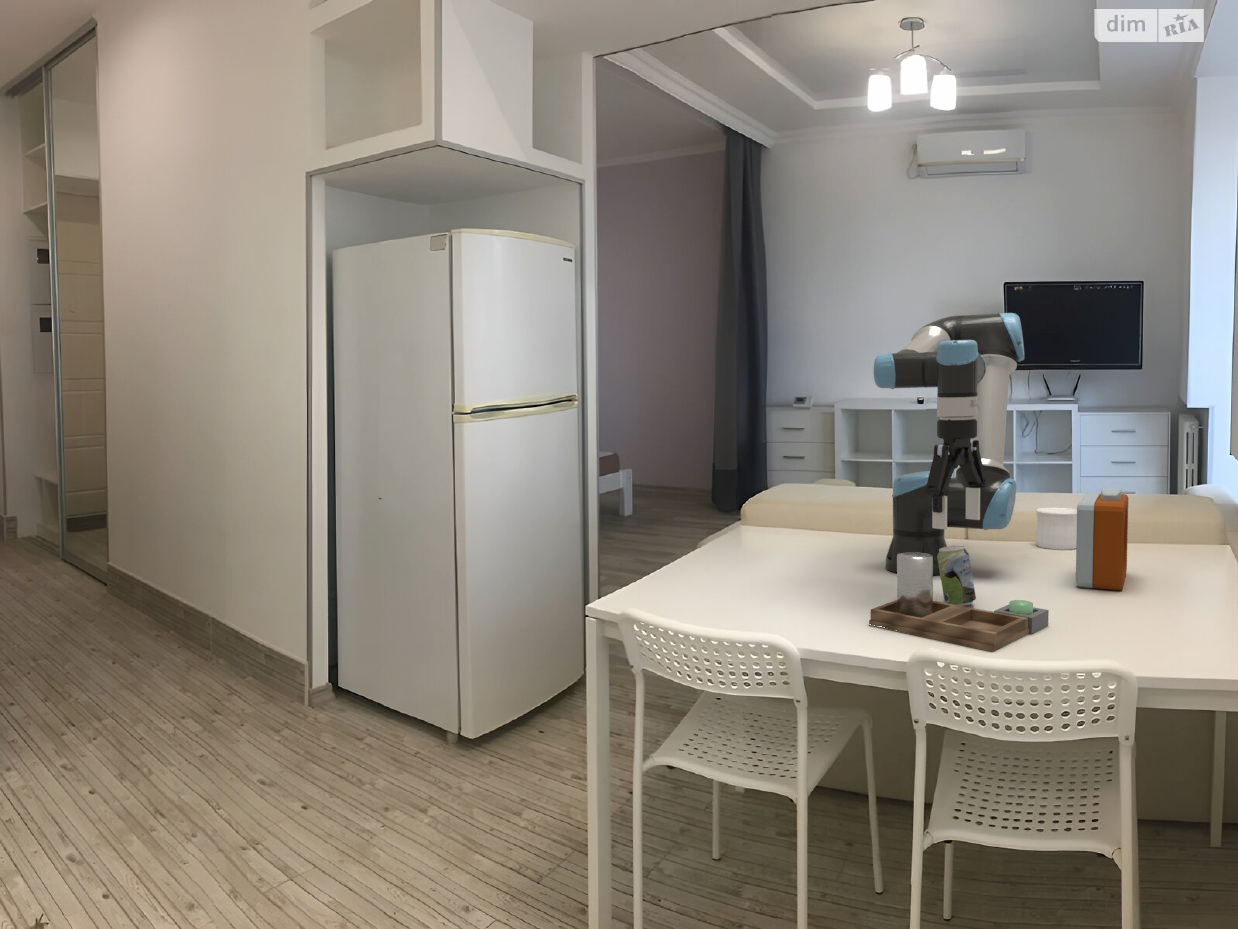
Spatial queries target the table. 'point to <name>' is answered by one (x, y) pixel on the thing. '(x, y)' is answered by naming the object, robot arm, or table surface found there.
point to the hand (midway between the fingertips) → (956, 524)
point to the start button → (1021, 607)
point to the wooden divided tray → (955, 625)
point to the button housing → (1030, 618)
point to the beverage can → (956, 575)
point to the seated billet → (915, 584)
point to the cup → (1056, 528)
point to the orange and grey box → (1102, 540)
